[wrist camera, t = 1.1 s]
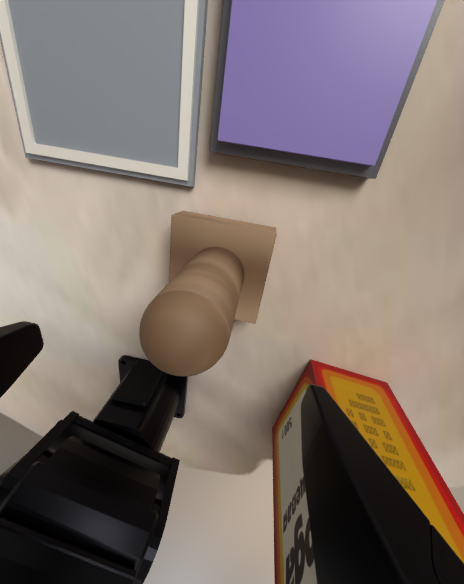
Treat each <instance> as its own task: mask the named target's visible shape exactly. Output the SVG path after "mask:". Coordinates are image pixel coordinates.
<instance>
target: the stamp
mask: <svg viewBox="0 0 464 584" xmlns="http://www.w3.org/2000/svg"><path fill="white" fill-rule="evenodd" d="M276 235H277V234H276V228H275V227H269V226H264V225H258V224H253V223H247V222H242V221H236V220H231V219H225V218H220V217H214V216H209V215H203V214H198V213H192V212H187V211H181V212H179V213H176V214H173V215H172V218H171V247H170V277H169V284H168V285H167V286H166V287H165V288H164V289H163V290H162V291H161V292H160V293H159V294H158V295H157V296H156V297H155V298H154V299H153V301H152V302H151V303H150V304H149V305H148V307H147V308H146V310H145V312H144V314H143V316H142V319H141V323H140V333H139V335H140V342H141V346H142V349H143V351H144V353H145V355H146V357H147V358H148V359H149V361H150V362H151V363H152V364H153V365H154V366H156V367H157V368H158V369H160V370H161V371H163V372H165V373H168V374H171V375H175V376H192V375H196V374H199V373H202V372H204V371H206V370H208V369H209V368H211V367H212V366H213V365H215V364H216V363H217V361H218V360H219V359H220V358H221V357H222V355H223V354H224V352H225V350H226V348H227V345H228V342H229V339H230V334H231V330H232V326H233V322H234V319H235V320H240V321H244V322H249V323H254V324H255V323H256V319H257V315H258V310H259V306H260V302H261V298H262V294H263V289H264V285H265V281H266V277H267V273H268V268H269V264H270V260H271V256H272V252H273V247H274V243H275V239H276Z"/></svg>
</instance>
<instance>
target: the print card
mask: <svg viewBox="0 0 464 584" xmlns="http://www.w3.org/2000/svg"><path fill="white" fill-rule="evenodd" d="M207 4H208V0H0V40H1V45H2V50H3V54H4V59H5V64H6V68H7V73H8V78H9V82H10V87H11V92H12V96H13V101H14V106H15V110H16V115H17V120H18V124H19V129H20V133H21V138H22V143H23V147H24V152H25V157H26V158H31V159H37V160H42V161H48V162H54V163H60V164H65V165H71V166H77V167H82V168H88V169H94V170H99V171H105V172H111V173H116V174H122V175H128V176H134V177H139V178H145V179H151V180H156V181H162V182H168V183H173V184H179V185H185V186H190V187H194V184H195V170H196V156H197V142H198V128H199V115H200V101H201V87H202V73H203V59H204V45H205V31H206V18H207Z"/></svg>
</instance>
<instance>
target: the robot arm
mask: <svg viewBox="0 0 464 584" xmlns="http://www.w3.org/2000/svg"><path fill="white" fill-rule="evenodd" d="M43 344H44V343H43V339H42V335H41V331H40V328H39V326H38V325H37V324H35V323H31V322H19V323H15V324H11V325H7V326H3V327H0V397H1V396H2V395H3V394H4V393H5V392H6V391H7V390H8V389H9V388H10V387H11V386H12V384H13V383H14V382H15V381H16V380H17V378H18V377H19V376H20V375H21V374H22V373H23V371H24V370H25V369H26V368H27V367H28V365H29V364H30V363H31V362H32V361H33V360H34V358H35V357H36V356H37V355H38V354H39V353H40V351H41V350H42V348H43ZM119 373H120V384H119V386H118V387H117V388H116V390H115V391H114V393H113V394H112V395H111V397H110V398H109V400H108V401H107V403H106V404H105V405H104V407H103V408H102V410H101V411H100V412H99V414H98V415H97V416H96V418H95V419H94V421H93V422H92V421H90V420H88V419H85V418H83V417H81V416H79V414H78V413H76V412H74V411H72V412H71V413H70V414H69V415H68V416H67V417H66V418H65V419H64V420H60V421H59V422H58V423H57V424H56V425H55V426H54V427H53V428H52V429H51V430H50V431H49V432H48V433H47V434H46V435H45V436H44V437H43V438H42V439H41V440H40V441H39V442H38V443H37V444H36V445H35V446H34V447H33V448H32V449H31V450H30V451H29V452H28V453H27V454H26V455H25V456H23V457H22V458H21V459H20V460H18V461H17V462H16V463H15V464H13V465H12V466H11V467H10V468H9V469H7V470H6V471H5V472H4V473H3V474H1V475H0V584H143V582H144V580H145V578H146V576H147V574H148V572H149V570H150V567H151V565H152V563H153V560H154V558H155V555H156V553H157V550H158V547H159V544H160V541H161V538H162V535H163V531H164V528H165V524H166V520H167V516H168V511H169V506H170V502H171V497H172V493H173V488H174V483H175V479H176V474H177V470H178V465H179V461H180V460H178V459H176V458H174V457H173V458H170V457H168V456H166V455H164V454H162V453H159V452H160V450H161V447H162V445H163V442H164V440H165V437H166V435H167V432H168V430H169V427H170V425H171V422H172V420H173V417H176V418H182V417H183V416H184V413H185V403H186V392H187V381H188V376H175V375H171V374H168V373H165V372H163V371H161V370H160V369H158V368H157V367H156V366H154V365H153V364H152V363H151V362H150V361H148V360H143V359H139V358H134V357H130V356H122V357H121V358H120V359H119ZM301 444H302V465H303V475H304V483H305V491H306V499H307V506H308V514H309V522H310V530H311V538H312V546H313V554H314V562H315V570H316V578H317V584H464V563H463V562H462V560H461V559H460V558H459V557H458V555H457V554H456V553H455V552H454V550H453V549H452V548H451V547H450V546H449V544H448V543H447V542H446V540H445V539H444V538H443V537H442V535H441V534H440V533H439V532H438V530H437V529H436V528H435V527H434V526H433V525H430V521H429V519H428V518H427V517H426V515H425V514H424V513H423V512H422V510H421V509H420V508H419V507H418V505H417V504H416V503H415V501H414V500H413V499H412V498H411V496H410V495H409V494H408V493H407V491H406V490H405V489H404V488H403V486H402V485H401V484H400V483H399V481H398V480H397V479H396V477H395V476H394V475H393V474H392V472H391V471H390V470H389V469H388V467H387V466H386V465H385V464H384V462H383V461H382V460H381V458H380V457H379V456H378V455H377V453H376V452H375V451H374V450H373V448H372V447H371V446H370V445H369V443H368V442H367V441H366V440H365V438H364V437H363V436H362V434H361V433H360V432H359V431H358V429H357V428H356V427H355V426H354V424H353V423H352V422H351V421H350V419H349V418H348V417H347V416H346V414H345V413H344V412H343V410H342V409H341V408H340V407H339V405H338V404H337V403H336V402H335V400H334V399H333V398H332V397H331V395H330V394H329V393H328V391H327V390H326V389H325V388H324V387H323V386H319V385H315V384H310V385H309V386H308V388H307V390H306V393H305V395H304V397H303V400H302V403H301Z"/></svg>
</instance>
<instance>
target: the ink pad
mask: <svg viewBox="0 0 464 584" xmlns="http://www.w3.org/2000/svg"><path fill="white" fill-rule="evenodd" d="M444 1H445V0H224V3H223V14H222V24H221V35H220V46H219V57H218V67H217V78H216V89H215V99H214V110H213V121H212V131H211V142H210V151H211V152H213V153H218V154H224V155H230V156H236V157H242V158H248V159H254V160H260V161H266V162H272V163H278V164H284V165H291V166H297V167H303V168H309V169H315V170H321V171H327V172H333V173H339V174H345V175H351V176H357V177H363V178H376V177H377V174H378V171H379V169H380V166H381V164H382V161H383V159H384V156H385V153H386V151H387V148H388V146H389V143H390V140H391V138H392V135H393V133H394V130H395V128H396V125H397V122H398V120H399V117H400V115H401V112H402V109H403V107H404V104H405V102H406V99H407V97H408V94H409V91H410V89H411V86H412V84H413V81H414V78H415V76H416V73H417V71H418V68H419V66H420V63H421V60H422V58H423V55H424V53H425V50H426V47H427V45H428V42H429V40H430V37H431V35H432V32H433V29H434V27H435V24H436V22H437V19H438V16H439V14H440V11H441V9H442V6H443V4H444Z"/></svg>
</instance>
